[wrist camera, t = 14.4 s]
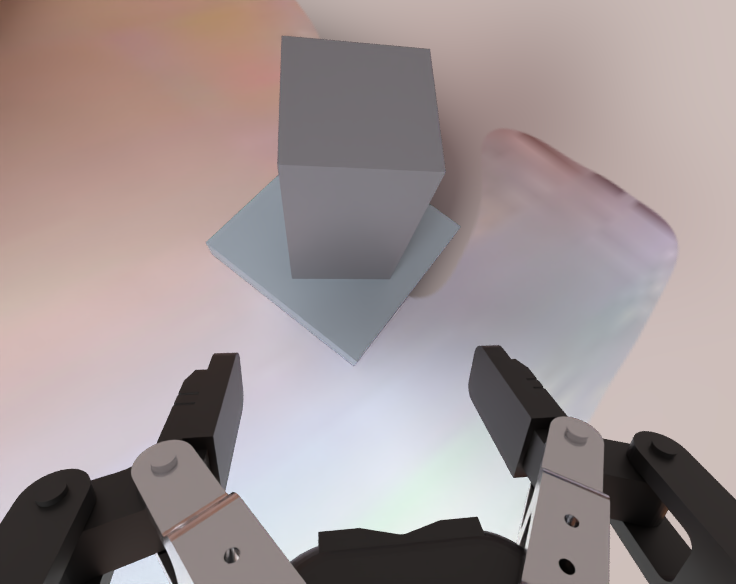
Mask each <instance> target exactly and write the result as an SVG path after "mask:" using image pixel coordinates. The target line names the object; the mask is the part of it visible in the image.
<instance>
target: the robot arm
mask: <svg viewBox="0 0 736 584" xmlns="http://www.w3.org/2000/svg"><path fill="white" fill-rule="evenodd" d="M468 387H469V394H470V398H471V400H472V402H473V404H474V406H475V408H476V409H477V411H478V413H479V415H480V417H481V419H482V421H483V422H484V424H485V426H486V428H487V430H488V432H489V434H490V435H491V437H492V439H493V441H494V443H495V445H496V447H497V448H498V450H499V452H500V454H501V456H502V458H503V460H504V461H505V463H506V465H507V467H508V469H509V471H510V473H511V475H512V476H513V478H517V477H528V478H529V480H530V481H531V484H530V487H529V489H528V494H527V498H526V502H525V507H524V511H523V516H522V520H521V524H520V529H519V533H518V537H517V541H516V543H515V542H513V541H511V540H509V539H507V538H505V537H503V536H500V535H498V534H495V533H491V532H488V531H483V529H482V527H481V524H480V522H479V519H478V517H470V518H459V519H449V520H440V521H437V522H435V523H432V524H429V525H427V526H424V527H422V528H419V529H417V530H414V531H412V532H409V533H406V534H393V533H387V532H380V531H374V530H368V529H362V528H355V529H345V530H334V531H324V532H318V546H317V547H315V548H312V549H310V550H308V551H306V552H304V553H302V554H300V555H299V556H297V557H296V558H295V559H293V560H292V561H289V560H288V559H287V558H286V556H285V555H284V554H283V552H282V551H281V550H280V548H279V547H278V546H277V544H276V543H275V542H274V540H273V539H272V538H271V537H270V535H269V534H268V533H267V531H266V530H265V529H264V527H263V526H262V525H261V523H260V522H259V521H258V519H257V518H256V517H255V516H254V514H253V513H252V512H251V510H250V509H249V508H248V506H247V505H246V504H245V502H244V501H243V500H242V499H241V497H240V496H239V495H238V494H237V493H235V492H232V493H231V494H229V495H228V494H227V493H226V492H225V490H226V485H227V480H228V476H229V471H230V466H231V461H232V457H233V452H234V447H235V442H236V438H237V433H238V428H239V424H240V419H241V414H242V409H243V385H242V375H241V366H240V357H239V354H238V353H214V354H213V356H212V359H211V361H210V364H209V367H208V369H207V370H195V371H194V372H193V373H192V374H191V375H190V376H189V377H188V378H187V379H185V380H184V382H183V384H182V387H181V389H180V391H179V395H178V396H177V398H176V400H175V403H174V406H173V407H172V409H171V412H170V414H169V416H168V418H167V421H166V423H165V425H164V428H163V430H162V432H161V434H160V437H159V439H158V441H157V444H155V445H153V446H151V447H149V448H148V449H146V450H145V451H143V452H142V453H141V454H140V455H139V456H138V457H137V459H136V460H135V462H134V463H133V466H132V467H130V468H128V469H126V470H123V471H120V472H117V473H114V474H111V475H107V476H104V477H101V478H98V479H94V480H90V477H89V475H88V474H87V473H86V472H84V471H82V470H79V469H65V470H60V471H57V472H54V473H51V474H48V475H46V476H44V477H42V478H40V479H39V480H37V481H35V482H34V483H32V484H31V485H30V486H28V487H27V488H26V489H25V490H24V491H23V492H22V493H21V494H20V495H19V496H18V498H17V499H16V501H15V502H14V504H13V505H12V507H11V508H10V510H9V511H8V513H7V514H6V516H5V517H4V519H3V520H2V522H1V523H0V584H110V581H111V578H112V575H113V572H114V570H116V569H118V568H121V567H123V566H126V565H128V564H131V563H133V562H136V561H138V560H141V559H143V558H146V557H148V556H151V555H153V554H155V555H156V557H157V559H158V561H159V563H160V565H161V567H162V569H163V571H164V573H165V575H166V577H167V579H168V581H169V583H170V584H609V554H610V553H609V552H610V524H611V525H612V527H613V528H614V530H615V531H616V533H617V535H618V536H619V538H620V539H621V541H622V542H623V544H624V546H625V547H626V549H627V550H628V552H629V553H630V555H631V556H632V558H633V559H634V561H635V563H636V564H637V565H638V567H639V569H640V570H641V572H642V573H643V575H644V576H645V578H646V580H647V581H648V583H649V584H736V499H735V498H734V497H733V496H732V495H730V493H728V491H727V490H726V489H725V488H724V487H722V485H721V484H720V483H718V481H717V480H716V479H714V477H713V476H712V475H711V474H710V473H709V472H708V471H707V470H706V469H704V467H703V466H702V465H701V464H700V463H699V462H698V461H697V460H696V459H695V458H694V457H693V456H692V455H691V454H690V453H689V452H688V451H687V450H686V449H685V448H683V447H682V446H681V445H680V444H678V443H677V442H675V441H674V440H672V439H670V438H668V437H666V436H664V435H661V434H658V433H654V432H649V431H642V432H638V433H636V434H635V435H634V437H633V440H632V441H631V444H628V443H623V442H618V441H612V440H607V439H603V438H602V437H601V435H600V434H599V432H598V431H597V430H596V429H594V428H593V427H592V426H591V425H589V424H587V423H586V422H584V421H581V420H579V419H576V418H572V417H568V416H567V415H566V414H565V413H564V411H563V410H562V409H561V408H560V407H559V405H558V404H557V403H556V402H555V400H554V399H553V398H552V397H551V395H550V394H549V393H548V392H547V390H546V389H544V388H543V386H542V384H541V383H540V382H539V381H538V380H536V377H535V376H534V374H533V373H532V372H531V371H530V370H529V368H528V367H526V366H525V365H523V364H522V363H520V362H519V361H517V360H516V359H511V358H510V357H509V356H508V354H507V353H506V352H505V351H504V349H503V348H502V347H501V346H499V345H492V346H477V348H476V350H475V353H474V358H473V363H472V368H471V373H470V378H469V384H468ZM668 510H669V511H670V512H671V513H672V514H673V516H674V517H675V518H676V519H677V520H678V522H679V523H680V524H681V525H682V527H683V528H684V529H685V531H686V532H687V534H688V535H689V537H690V540H691V544H692V550H691V549H690V548H689V546H688V545H687V544H686V543H685V541H684V540H683V539H682V538H681V536H680V535H679V534H678V532H677V531H676V530H675V529H674V527H673V526H672V525H671V524H670V522H669V521H668V520H667V518H666V517H665V515H666V513H667V511H668Z"/></svg>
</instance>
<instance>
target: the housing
mask: <svg viewBox="0 0 736 584" xmlns="http://www.w3.org/2000/svg"><path fill="white" fill-rule="evenodd" d="M277 165H278V173H279V181H280V189H281V197H282V205H283V212H284V220H285V228H286V236H287V244H288V252H289V260H290V267H291V275H292V279H390V278H391V276H392V274H393V272H394V270H395V268H396V267H397V265H398V263H399V261H400V259H401V257H402V255H403V253H404V251H405V249H406V247H407V245H408V244H409V242H410V240H411V238H412V236H413V234H414V232H415V230H416V228H417V226H418V224H419V222H420V221H421V219H422V217H423V215H424V213H425V211H426V209H427V207H428V205H429V203H430V201H431V199H432V197H433V196H434V194H435V192H436V190H437V188H438V186H439V184H440V182H441V180H442V178H443V176H444V175H445V173H446V170H445V163H444V156H443V147H442V139H441V132H440V124H439V116H438V108H437V101H436V92H435V84H434V77H433V69H432V61H431V54H430V49H424V48H412V47H401V46H391V45H380V44H369V43H358V42H357V43H356V42H346V41H335V40H324V39H313V38H302V37H291V36H282V43H281V73H280V102H279V132H278V162H277Z"/></svg>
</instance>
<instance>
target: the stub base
mask: <svg viewBox="0 0 736 584" xmlns="http://www.w3.org/2000/svg"><path fill="white" fill-rule="evenodd" d="M460 227H461V226H460V225H458V224H457V223H455V222H454V221H453V220H451V219H450V218H448V217H447V216H446V215H444V214H443V213H441V212H440V211H439V210H437V209H436V208H434V207H433V206H432V205H430V204H429V205H428V207H427V209H426V211H425V213H424V215H423V217H422V219H421V221H420V222H419V224H418V226H417V228H416V230H415V232H414V234H413V236H412V238H411V240H410V242H409V244H408V245H407V247H406V249H405V251H404V253H403V255H402V257H401V259H400V261H399V263H398V265H397V267H396V268H395V270H394V272H393V274H392V276H391V278H390V279H292V275H291V267H290V260H289V252H288V244H287V236H286V228H285V220H284V212H283V205H282V197H281V189H280V181H279V175H278V176H277V177H276V178H275V179H273V180H272V181H271V182H270V183H269V184H268V185H267V186H266V187H265V188H264V189H263V190H262V191H261V192H260V193H258V194H257V195H256V196H255V197H254V198H253V199H252V200H251V201H250V202H249V203H248V204H247V205H246V206H245V207H243V208H242V209H241V210H240V211H239V212H238V213H237V214H236V215H235V216H234V217H233V218H232V219H231V220H229V221H228V222H227V223H226V224H225V225H224V226H223V227H222V228H221V229H220V230H219V231H218V232H217V233H216V234H214V235H213V236H212V237H211V238H210V239H209V240H208V241H207V242H206V244H207V246H208V247H209V249H210V251H211V253H212V255H214V256H215V257H216V258H218V259H219V260H220V261H221V262H223V263H224V264H225V265H226V266H228V267H229V268H230V269H231V270H233V271H234V272H235V273H237V274H238V275H239V276H240V277H242V278H243V279H244V280H245V281H247V282H248V283H249V284H250V285H252V286H253V287H254V288H256V289H257V290H258V291H259V292H261V293H262V294H263V295H264V296H266V297H267V298H268V299H269V300H271V301H272V302H273V303H275V304H276V305H277V306H278V307H280V308H281V309H282V310H283V311H285V312H286V313H287V314H288V315H290V316H291V317H292V318H293V319H295V320H296V321H297V322H299V323H300V324H301V325H302V326H304V327H305V328H306V329H307V330H309V331H310V332H311V333H312V334H314V335H315V336H316V337H318V338H319V339H320V340H321V341H323V342H324V343H325V344H326V345H328V346H329V347H330V348H331V349H333V350H334V351H335V352H337V353H338V354H339V355H340V356H342V357H343V358H344V359H345V360H347V361H348V362H349V363H350V364H352V365H353V366H354V365H355V364H356V363H357V361H358V360H359V359H360V358H361V356H362V355H363V354H364V352H365V351H366V350H367V348H368V347H369V346H370V345H371V343H372V342H373V341H374V339H375V338H376V337H377V336H378V334H379V333H380V332H381V330H382V329H383V328H384V326H385V325H386V324H387V323H388V321H389V320H390V319H391V317H392V316H393V315H394V313H395V312H396V311H397V310H398V308H399V307H400V306H401V304H402V303H403V302H404V300H405V299H406V298H407V297H408V295H409V294H410V293H411V291H412V290H413V289H414V287H415V286H416V285H417V284H418V282H419V281H420V280H421V278H422V277H423V275H424V274H425V273H426V272H427V271H428V269H429V268H430V267H431V265H432V264H433V263H434V262H435V260H436V259H437V258H438V256H439V255H440V254H441V252H442V251H443V250H444V249H445V247H446V246H447V245H448V243H449V242H450V241H451V239H452V238H453V237H454V235H455V234H456V233H457V231H458V230H459V229H460Z"/></svg>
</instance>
